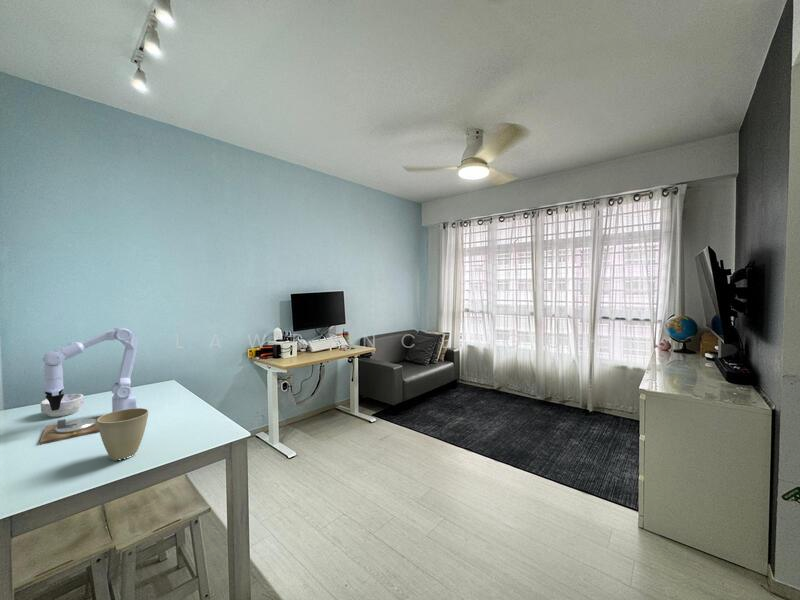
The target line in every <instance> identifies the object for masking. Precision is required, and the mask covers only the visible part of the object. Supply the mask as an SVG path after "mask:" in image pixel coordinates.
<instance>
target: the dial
mask: <svg viewBox="0 0 800 600" xmlns="http://www.w3.org/2000/svg"><path fill="white" fill-rule="evenodd" d="M66 421H67V420H66V419H59V420H57V425H58V426H57V427H56V428H55V432H56V433H71V432H76V431H81V430H84V429H87V428H90V427H92V426H94V425H95V424H96V420H95V419H88V418H82V419H81V418H80V419H76V420H72V421H67V422H66Z"/></svg>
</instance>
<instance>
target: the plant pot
mask: <svg viewBox="0 0 800 600" xmlns="http://www.w3.org/2000/svg"><path fill="white" fill-rule="evenodd" d="M100 416H101V417H99V416H98V417H99V418H98V419H97V422H98V427H99V432H98V433H99V435H100V438H101V441H102V444H103V446H104V448H105V450H106V452H107V454H108V457H109V458H110V460H111V459H112V460H111V461H113V460H119V459H124V458H127V457H129V456H132V455H134V454H135V453H136V452H138V450H139V448H140V446H141V443H142V441H143V437H144V435H145V430H146V426H147V423H148V417H149V409H147V408H142V407H140V408H138V407H137V408H133V409H125V410H119V411H115V412H108V413H105V414H103V415H100ZM136 454H137V453H136ZM136 454H135V455H136ZM135 455H134V456H135Z"/></svg>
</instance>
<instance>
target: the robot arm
mask: <svg viewBox="0 0 800 600" xmlns="http://www.w3.org/2000/svg"><path fill="white" fill-rule="evenodd" d="M115 340H117V341H119V342H120V343H121V344H122V345H123V346H124V351H123V355H122V359H121V364H120V367H119V372H118V376H117V378H116V380H115V381H114V382H115V383H114V384H113V386H112V387H111V393H112V394H113V396H112V397H111V401H112V403H111V404H112V405H111V406H112V407H111V408H112V412H115V411H119V410H125V409H133V408H138V405H137V395H136V394H132V387H131V384H132V382H131V381H132V379H131V377H132V373H133V369H134V364H135V359H136V357H137V352H138V347H139V341H138V339H137V338H136V337H135V334H134V332H133V331H131V330H130V329H128V328H125V327H122V326H119V327H114V328H111V329H108V330H106V331H104V332H102V333H99V334H97V335H95V336H92V337H90V338H88V339H85V340H84V341H82V342H79V341H74V342H72V341H70V342H69V343H67V345H64V346H62V347H60V348H55V349H54V350H52V351H51V350H50V351H48V352H47V353H45V354H44V355H43V357H42V360H43V362H44V366H43V367H44V369H43V373H44V374H43V375H44V376H43V377H44V388H42V389H40V392H41V393H43V392H44V394H45V399H47V400H48V401H49V403H50V406H51V410H52V411H55V410H59V408H60V403H61V400H62V398H63V396H64V395H65V393H62V392H63V391H64V390H63V389H65V386H64V370H63V369H64V367H63V361H66V360H68V359H71V358H73V357H75V356H76V357H77V356H78V355H80V354H82V353H84V351H85V349H87V348H89V347H93V346H95V345H97V344H99V343H103V342H105V341H115ZM131 394H132V395H131Z"/></svg>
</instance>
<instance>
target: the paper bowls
mask: <svg viewBox="0 0 800 600" xmlns="http://www.w3.org/2000/svg"><path fill="white" fill-rule="evenodd" d="M84 396H85V395H84V394H82V393H68V394H64V396H63V398H62V400H61V403H60V408H59V410H55V411H52V410H51V406H50V403H49V401H48V400H47V398H45V399H43V400H42V401H41V402H40V412H41V414H46V415H47V416H48V417H50V418H51V417H52V418H58V417H59V418H60V417H65V416H69V415H72V414H74V413H76V412H77V411H78V410H79V408H80V407H83V406H84V405H85V398H84Z"/></svg>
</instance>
